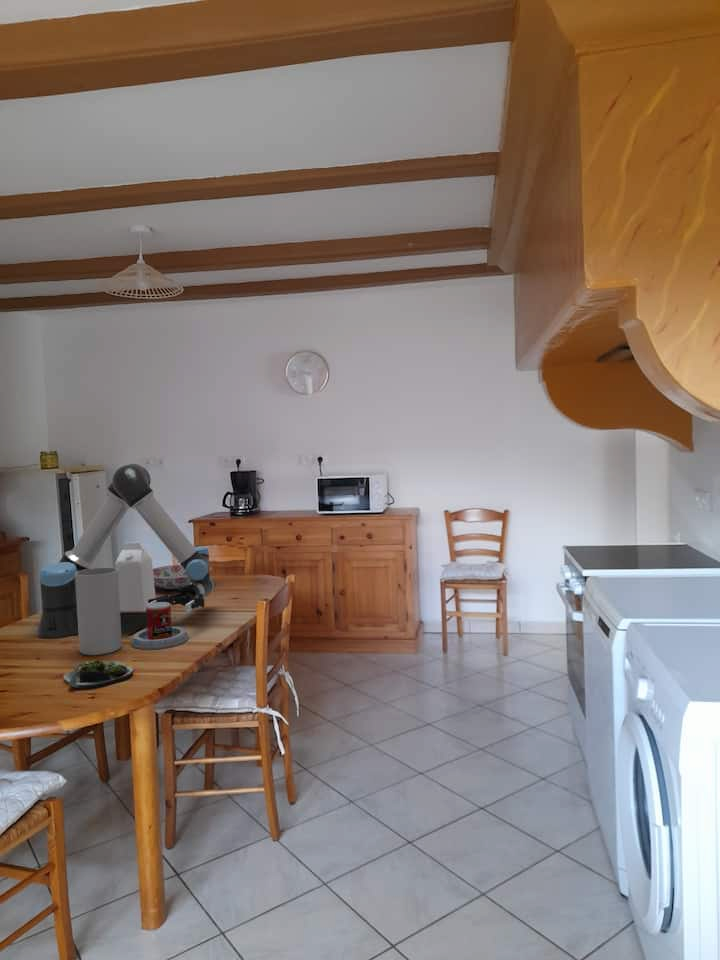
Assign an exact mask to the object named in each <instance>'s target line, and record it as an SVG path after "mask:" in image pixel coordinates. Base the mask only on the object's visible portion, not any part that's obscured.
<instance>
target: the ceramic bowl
mask: <svg viewBox="0 0 720 960" xmlns="http://www.w3.org/2000/svg"><path fill="white" fill-rule="evenodd" d="M211 571H212V567H211V566H210V565H209V572H211ZM153 577H154V586H156V587H158V588H160V589H163V590H164V589H166V590H180V588H182V587H183V586H185V585H187V584H189V583H190V578H189V577H188V576H187V574H186V571H185V569H184V568H183V567H182V566H181V564H173V565H164V566H158V567H155V568H154V567H153Z"/></svg>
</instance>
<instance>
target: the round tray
mask: <svg viewBox="0 0 720 960" xmlns="http://www.w3.org/2000/svg"><path fill="white" fill-rule="evenodd" d="M188 641H189V634H188V633H187V632H186V629H185V628H184V627H183V628H182V627H179V626H172V636H171V637H169V638H165V639H156V640H149V639H148V633H147V629H143V630H140V631H139V632H136V633H134V635H133V637H132V638H131V640H130V646H131V648H134V649H137V650H144V651H151V650H155V651H156V650H164V649H170V648H174V647H177V646H180V645H182V644H185V643H186V642H188Z"/></svg>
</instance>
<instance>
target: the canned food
mask: <svg viewBox="0 0 720 960" xmlns="http://www.w3.org/2000/svg"><path fill="white" fill-rule="evenodd" d="M171 609H172V607H171V604H170V603H168V602H156V603H151V604H148V605H147V606H146V611H145V612H146V613H145V614H146V630H147V633H148V639H149V640H156V639H165V638H169V637H171V636H172V627H173V626H172V625H173V624H172V610H171Z"/></svg>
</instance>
